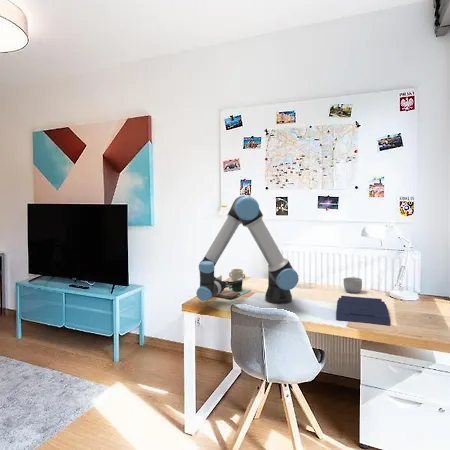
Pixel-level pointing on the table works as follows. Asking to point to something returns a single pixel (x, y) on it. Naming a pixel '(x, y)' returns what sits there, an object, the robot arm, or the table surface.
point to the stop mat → (240, 291)
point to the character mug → (236, 277)
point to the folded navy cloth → (362, 310)
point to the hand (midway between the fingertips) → (231, 278)
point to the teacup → (352, 284)
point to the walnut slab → (227, 294)
